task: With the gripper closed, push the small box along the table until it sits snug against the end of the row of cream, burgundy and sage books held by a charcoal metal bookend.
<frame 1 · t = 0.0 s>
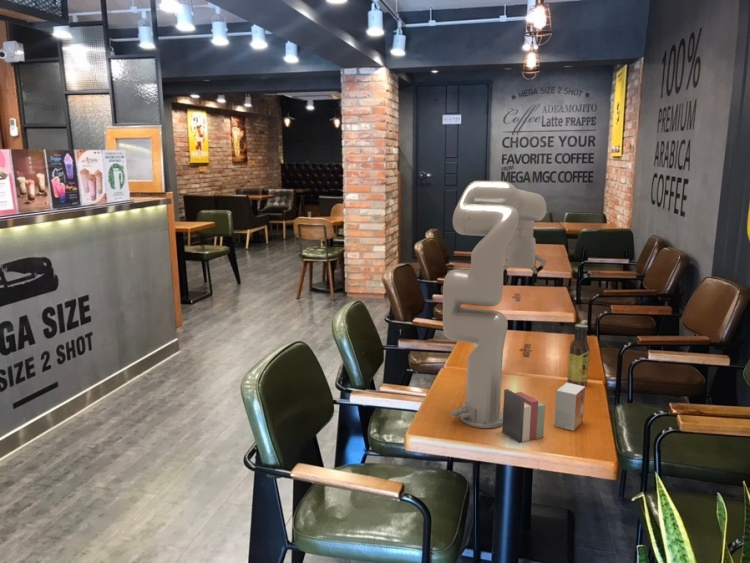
hand: (519, 283, 198), 31 cm above the table, tool pointing down, fingers open, 9 cm apart
book row: (522, 434, 155), on the table
foam cup: (487, 377, 198), on the table
small box: (568, 424, 161), on the table
sauce bottle: (577, 384, 192), on the table
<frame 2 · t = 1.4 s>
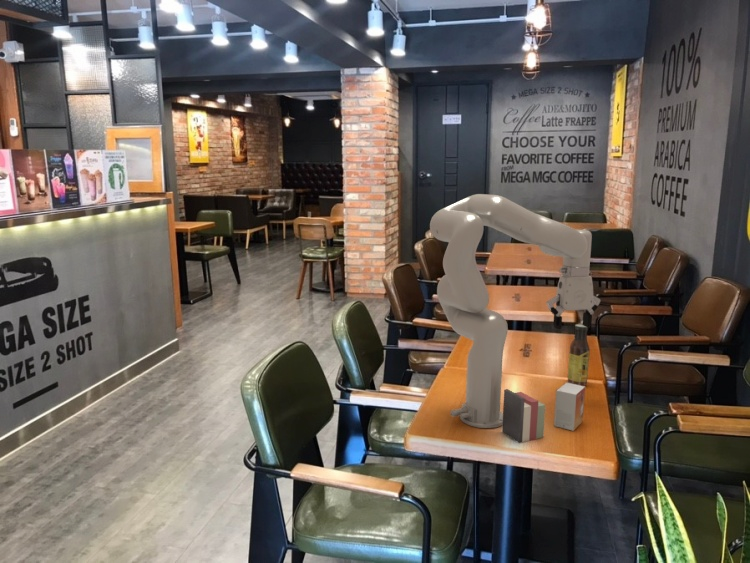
hand: (572, 327, 175), 23 cm above the table, tool pointing down, fingers open, 9 cm apart
nothing on the table moved.
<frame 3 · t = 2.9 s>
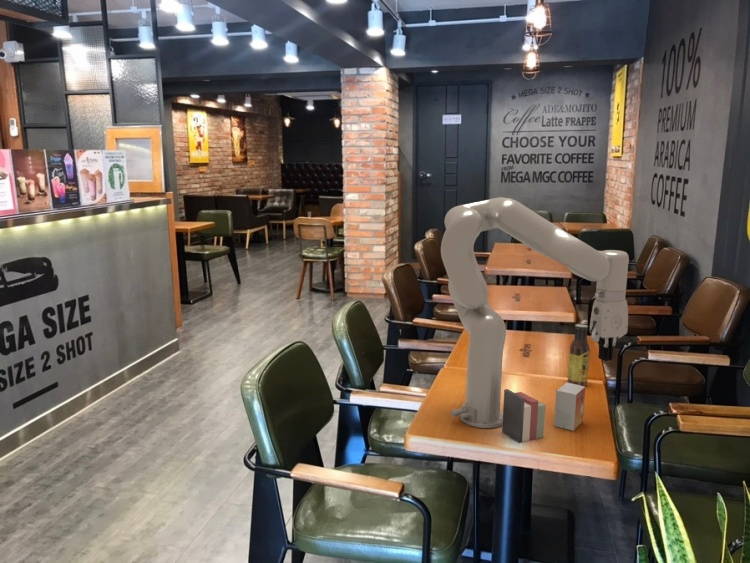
hand: (605, 359, 163), 17 cm above the table, tool pointing down, fingers closed
nothing on the table moved.
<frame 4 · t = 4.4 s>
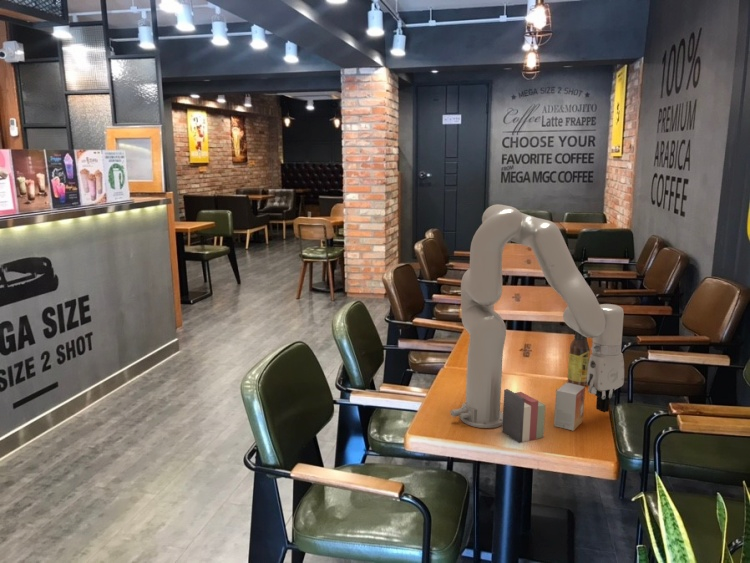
hand: (602, 410, 166), 2 cm above the table, tool pointing down, fingers closed
nothing on the table moved.
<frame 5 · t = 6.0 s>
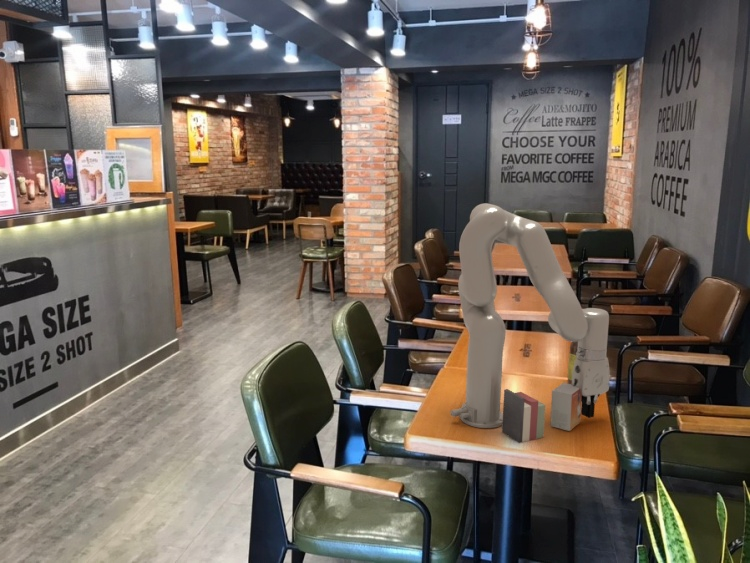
hand: (587, 415, 164), 1 cm above the table, tool pointing down, fingers closed
small box: (565, 425, 161), on the table, touching gripper
everything else where it was.
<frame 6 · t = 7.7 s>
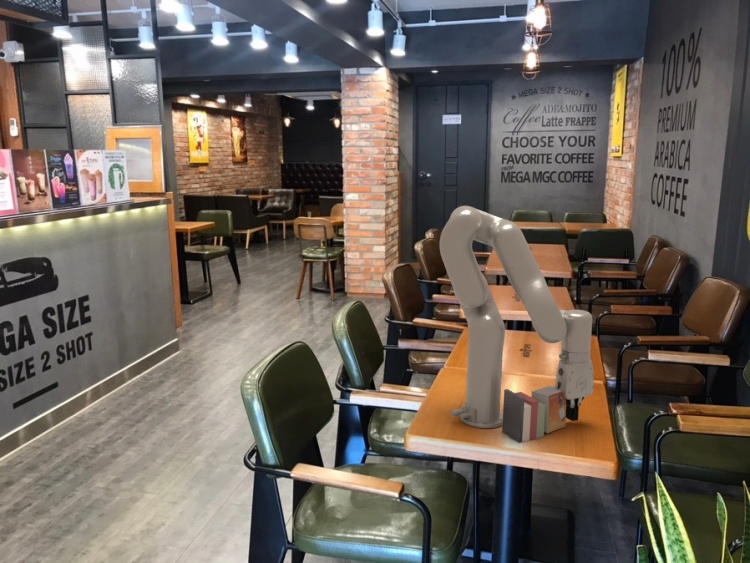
hand: (571, 419, 161), 1 cm above the table, tool pointing down, fingers closed
small box: (548, 428, 159), on the table, touching gripper
everything else where it was.
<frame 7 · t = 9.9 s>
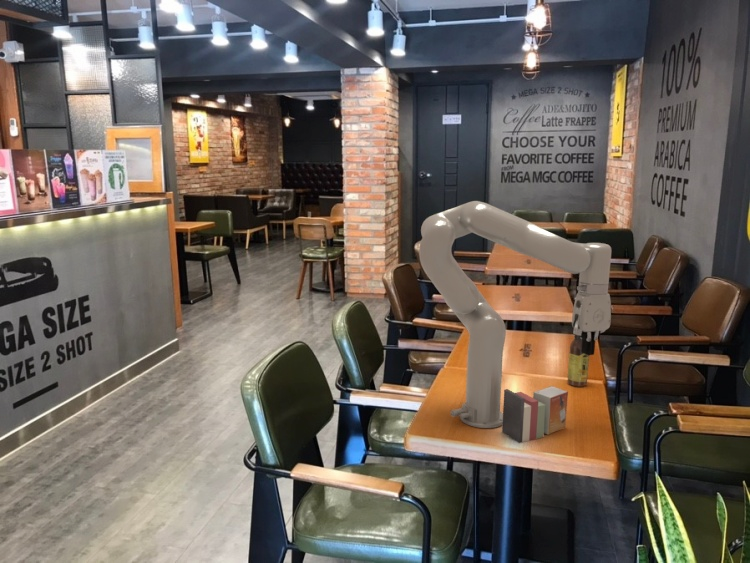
hand: (587, 353, 161), 19 cm above the table, tool pointing down, fingers closed
small box: (548, 428, 159), on the table
everything else where it was.
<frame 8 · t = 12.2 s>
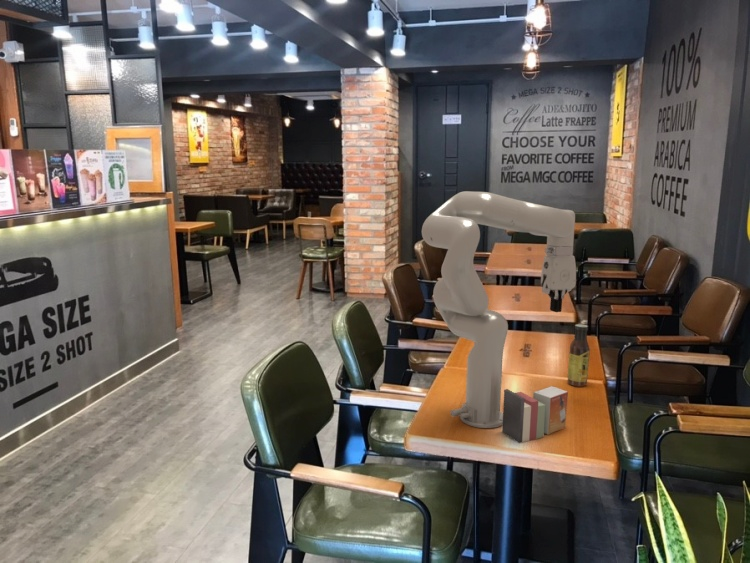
hand: (555, 311, 177), 27 cm above the table, tool pointing down, fingers closed
nothing on the table moved.
at the end: small box 0.4 cm from the target spot, on the table; small box tilted 0°; small box moved 6.9 cm from its start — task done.
